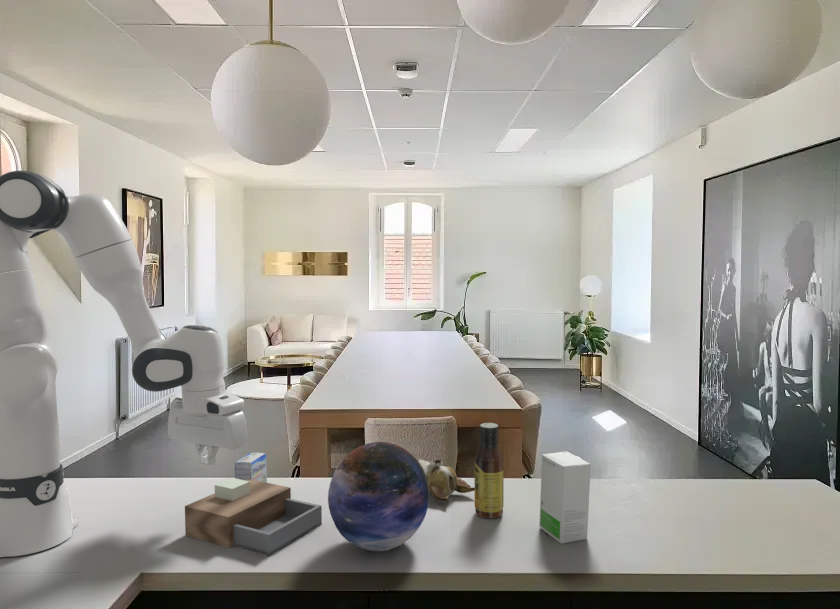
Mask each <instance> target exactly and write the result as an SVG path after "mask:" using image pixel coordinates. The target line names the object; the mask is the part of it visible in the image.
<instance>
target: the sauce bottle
mask: <svg viewBox="0 0 840 609" xmlns="http://www.w3.org/2000/svg"><path fill="white" fill-rule="evenodd" d="M479 433H480V435H479V436H480V440H479V447H478V449H477V452H476V456H475V458H474V476H473V477H474V488H475V491H474V507H475V508H474V510H475V514H476V515H477V516H478V517H480V518H483V519H498V518H500V517H501V516H502V515H503V513H504V497H505V496H504V486H505V485H504V482H505V481H504V468H505V467H504V455H503V453H502V451H501V449H500V448H499V446H498V445H499V441H498V440H499V439H498V438H499V437H498V436H499V435H498V434H499V424H497V423H494V422H483V423H481V424H479Z"/></svg>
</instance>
